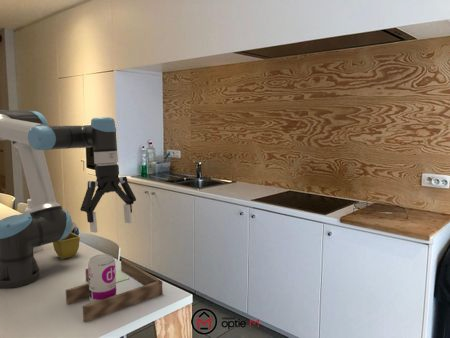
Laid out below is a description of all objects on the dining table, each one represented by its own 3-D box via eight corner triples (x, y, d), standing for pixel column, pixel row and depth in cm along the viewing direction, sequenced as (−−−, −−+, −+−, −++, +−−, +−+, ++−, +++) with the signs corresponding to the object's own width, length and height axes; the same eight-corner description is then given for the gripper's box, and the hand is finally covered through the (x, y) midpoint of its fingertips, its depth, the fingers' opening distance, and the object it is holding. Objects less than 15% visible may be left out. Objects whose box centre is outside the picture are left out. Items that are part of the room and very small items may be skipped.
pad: (103, 286, 130) (103, 286, 130) (92, 278, 137) (92, 278, 136) (129, 278, 137) (129, 278, 137) (118, 271, 143) (117, 270, 143)
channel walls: (84, 322, 107) (84, 307, 106) (53, 290, 127) (52, 277, 127) (162, 293, 125) (162, 281, 124) (124, 269, 145) (123, 258, 144)
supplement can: (121, 300, 120) (120, 256, 118) (101, 311, 113) (99, 265, 111) (105, 294, 124) (103, 251, 122) (84, 304, 117) (82, 259, 115)
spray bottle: (25, 253, 163) (22, 198, 159) (27, 248, 169) (23, 195, 166) (42, 251, 165) (39, 196, 162) (43, 246, 171) (40, 194, 168)
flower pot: (81, 256, 159) (80, 236, 158) (61, 261, 153) (59, 241, 152) (72, 251, 165) (71, 232, 164) (52, 256, 159) (51, 236, 158)
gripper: (78, 168, 109) (84, 237, 111) (143, 161, 129) (147, 220, 131) (65, 168, 114) (71, 234, 116) (129, 161, 134) (134, 218, 136)
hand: (111, 227), depth 123 cm, fingers open, 13 cm apart
